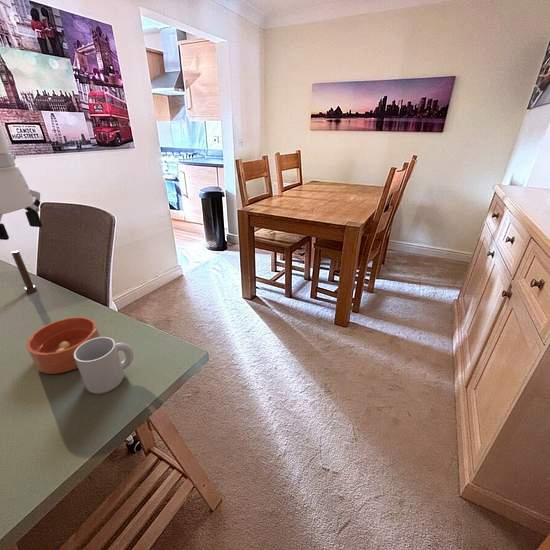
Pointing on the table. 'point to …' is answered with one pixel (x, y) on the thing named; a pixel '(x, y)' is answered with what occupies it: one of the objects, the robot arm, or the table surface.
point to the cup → (102, 363)
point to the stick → (23, 272)
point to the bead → (64, 345)
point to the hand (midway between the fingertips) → (20, 232)
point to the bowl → (52, 335)
